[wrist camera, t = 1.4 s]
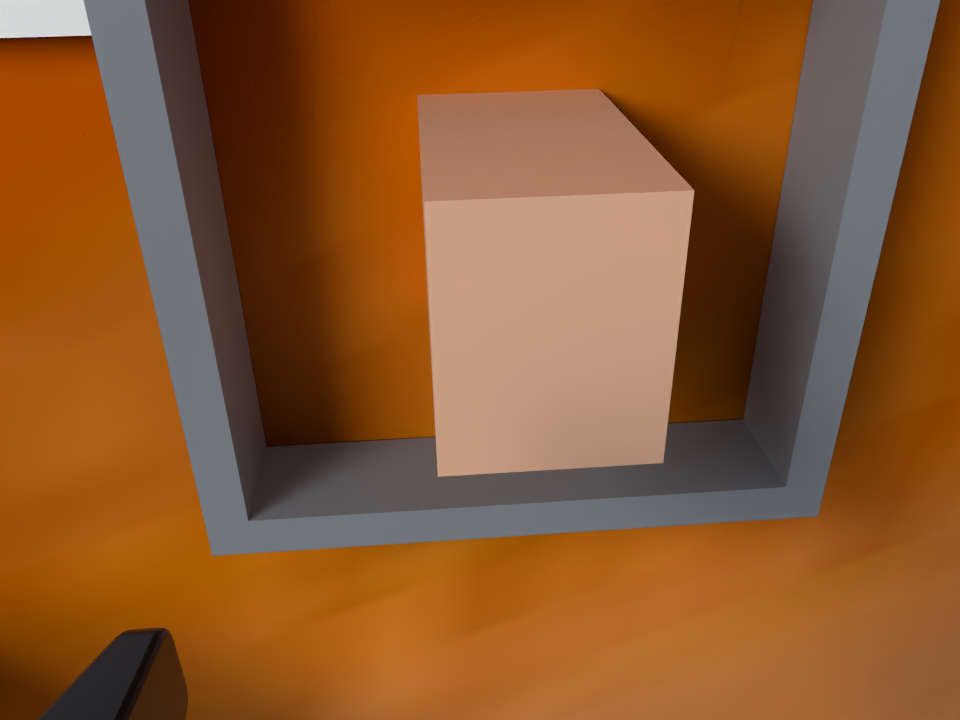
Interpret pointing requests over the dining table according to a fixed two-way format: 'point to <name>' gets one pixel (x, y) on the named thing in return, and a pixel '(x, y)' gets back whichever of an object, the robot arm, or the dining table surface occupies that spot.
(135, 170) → the grey tray
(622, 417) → the block
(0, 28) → the white flat square slab
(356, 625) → the dining table surface
